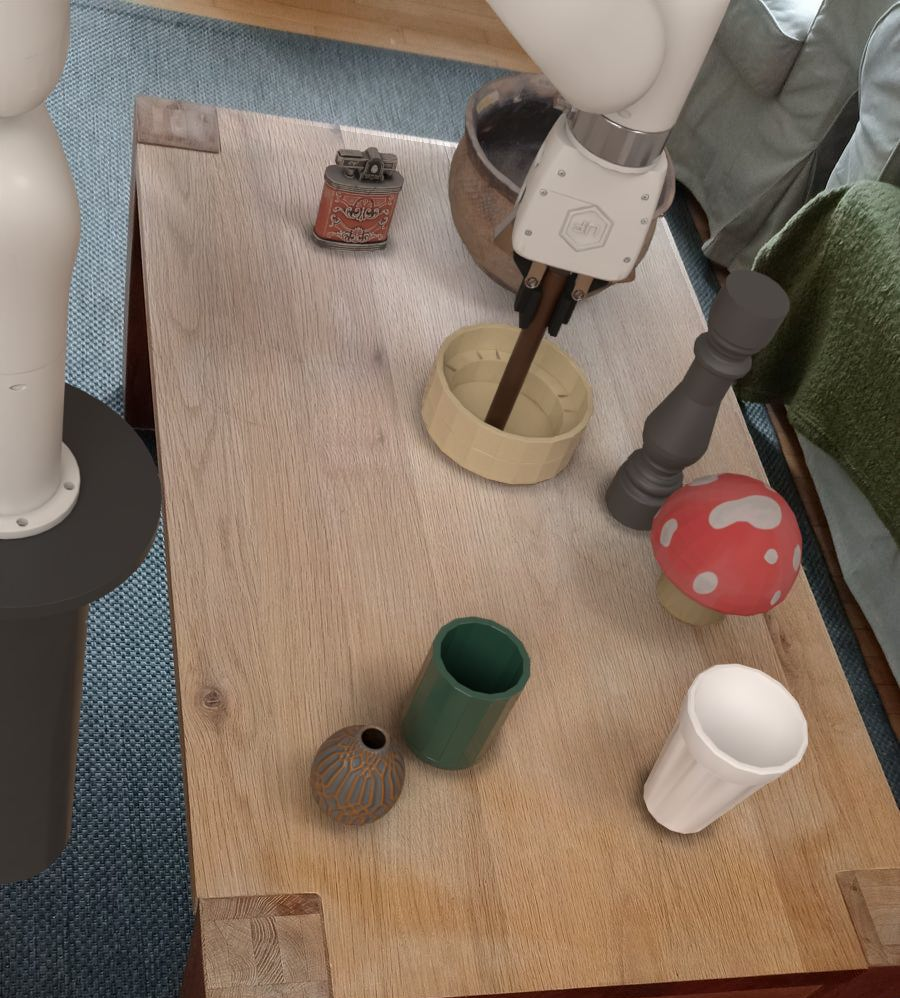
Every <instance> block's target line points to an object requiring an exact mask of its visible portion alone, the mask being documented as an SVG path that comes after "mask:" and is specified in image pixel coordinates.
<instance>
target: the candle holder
mask: <svg viewBox="0 0 900 998" xmlns="http://www.w3.org/2000/svg"><path fill="white" fill-rule="evenodd" d="M790 307H791V300H790V298H789V296H788V294H787V292H786V291H785V290H784V289H783V287H782V286H781V285H780V284H779V283H778V282H776V281H775V280H773V279H772V278H771V277H769V276H768V275H765V274H763V273H761V272H758V271H756V270H751V269H743V268H741V269H737V270H733V271H731V272H730V273H729V274H728V275H727V276H726V278H725V279H724V281H723V283H722V285H721V287H720V289H719V290H718V293H717V294H716V296H715V298H714V299H713V302H712V303H711V305H710V307H709V311H708V318H707V323H706V325H707V331H704V332H701V333H700V334H699V335H698V336H697V337H696V338H695V339H694V345H693V351H692V352H693V354H694V359H693V360H692V362H691V363H690V365H689V367H688V369H687V371H686V373H685V374H684V376H683V378H682V380H681V381H680V382H679V383H678V384H677V385H676V386H675V387H674V388H673V389H672V391H671V392H670V393H669V394H668V395H667V396H665V398H663V400H662V401H661V402H660V403H659V404H658V405H657V406H656V407H655V408H654V409H653V410H652V411H651V412H650V413H649V414H648V416H647V417H646V418H645V421H644V423H643V429H642V435H641V437H642V447H640V448H637V449H634V450H633V451H632V452H631V454H630V455H628V457H627V458H626V460H625V461H624V462H623V463H622V464H621V465H620V466H619V467H618V469H617V471H616V472H615V475H614V477H613V478H612V480H611V482H610V484H609V486H608V487H607V489H606V491H605V497H604V502H605V504H606V508H607V510H608V511H609V513H610V514H611V515H612V517H613V518H614V519H615V520H616V521H617V522H619V523H620V524H622V525H623V526H624V527H626V528H629V529H633V530H634V531H640V532H641V531H643V532H651V529H652V522H653V518H654V517H655V515H656V514H657V512H658V511H659V509H660V508H661V506H662V505H663V504H664V502H665V501H666V500H667V498H668V497H669V496H670V495H671V494H673V493H674V492H675V491H676V490H678V489H680V488H681V487H683V486H684V485H683V483H684V478H685V477H684V473H683V471H684V470H685V469H686V468H689V467H691V466H693V465H695V464H696V463H697V462H699V461H700V459H701V458H702V457H703V456H704V455H705V454H706V452H707V450H708V449H709V447H710V442H711V439H712V435H713V432H714V428H715V424H716V421H717V417H718V415H719V411H720V409H721V404H722V401H724V398H725V396H726V395H727V393H728V391H729V390H730V388H731V386H732V385H733V383H734V381H735V380H739V379H742V378H744V377H745V376H746V375H747V374H748V373H749V371H750V370H751V369H752V363H753V359H752V356H753V355H755V354H758V353H759V352H760V351H761V350H762V349H763V348H766V347H767V346H768V344H769V343H770V342H772V340H773V338H774V336H775V335H776V333H777V331H778V330H779V328H780V326H781V325H782V323H783V322H784V320H785V318H786V317H787V315H788V314H789V312H790Z"/></svg>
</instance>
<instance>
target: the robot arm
mask: <svg viewBox="0 0 900 998" xmlns="http://www.w3.org/2000/svg"><path fill="white" fill-rule="evenodd" d="M485 2H486V3H487V4H488V5H489V7H490V9H492V11H493V12H494V13H495V15H496V16H497V17H498V19H499V20H500V21H501V23H502V24H503V25H504V27H505V28H506V29H507V31H508V32H509V33H510V34H511V36H512V37H513V38H514V39H515V40H516V42H517V43H518V44H519V46H520V47H521V48H522V50H523V51H524V52H525V53H526V54H527V55H528V57H529V58H530V59H531V60H532V62H533V63H534V64H535V65H536V67H537V68H538V69H539V70H540V72H541V73H543V74H544V75H545V76H546V77H547V78H548V80H549V81H550V82H551V83H552V84H553V86H554V87H555V88H556V89H557V91H556V94H555V97H554V102H553V108H556V109H559V110H562V113H563V114H562V115H561V116H560V117H559V118H558V120H557V121H556V123H555V124H554V126H553V127H552V129H551V130H550V132H549V134H548V135H547V137H546V139H545V141H544V142H543V144H542V146H541V148H540V150H539V152H538V153H537V155H536V157H535V159H534V161H533V163H532V166H531V168H530V170H529V172H528V174H527V176H526V178H525V181H524V183H523V185H522V187H521V190H520V192H519V195H518V197H517V200H516V203H515V206H514V209H513V210H512V211H511V212H510V213H509V214H508V215H507V216H506V217H505V219H504V220H503V221H502V222H501V223H500V224H499V225H498V226H497V227H496V228H495V229H494V231H493V243H494V245H495V246H496V247H497V248H499V249H500V250H501V251H503V252H504V253H505V254H507V255H508V256H509V255H510V256H511V257H512V258H513V259H514V262H515V263H516V265H517V267H518V269H519V270H520V272H521V274H522V276H523V277H524V278H523V280H522V283H521V285H520V288H519V290H518V293H517V294H516V295H515V298H514V302H513V311H514V312H515V313H518V327H519V328H521V329H526V328H528V327H529V324H530V322H531V319H532V317H533V315H534V312H535V310H536V307H537V305H538V302H539V300H540V298H541V295H542V285H541V283H542V276H543V274H544V271H545V269H546V267H547V265H548V266H552V267H555V268H559V269H563V270H566V271H570V272H571V275H569V278H568V280H567V282H566V285H565V287H564V290H563V292H562V294H561V297H560V299H559V301H558V304H557V306H556V308H555V311H554V313H553V315H552V318H551V320H550V322H549V325H548V327H547V334H548V335H549V337H552V338H557V337H558V334H559V332H560V330H561V328H562V326H563V325H566V326H568V324H569V322H570V320H571V318H572V316H573V313H574V311H575V309H576V306H577V305H578V303H579V302H580V301H583V300H585V299H586V298H585V297H586V295H587V293H590V292H592V291H594V290H596V289H599V288H601V287H603V286H606V285H607V284H608V283H612V284H614V285H616V284H626V283H632V282H634V281H635V280H636V276H637V275H636V274H637V273H636V270H637V267H636V261H637V258H638V256H639V254H640V251H641V249H642V246H643V243H644V241H645V238H646V235H647V232H648V230H649V227H650V224H651V221H652V219H653V216H654V213H655V210H656V207H657V204H658V201H659V198H660V195H661V191H662V188H663V184H664V180H665V176H666V172H667V167H668V162H667V159H666V154H665V151H664V147H665V146H666V145H667V143H668V140H669V139H670V136H671V135H672V132H673V129H674V127H675V126H676V124H677V121H678V119H679V117H680V114H681V112H682V110H683V108H684V106H685V104H686V101H687V99H688V96H689V94H690V92H691V90H692V88H693V85H694V84H695V81H696V79H697V77H698V75H699V73H700V70H701V68H702V66H703V63H704V61H705V60H706V57H707V54H708V53H709V50H710V48H711V46H712V44H713V41H714V39H715V37H716V35H717V33H718V30H719V28H720V26H721V24H722V21H723V19H724V17H725V15H726V13H727V11H728V8H729V6H730V4H731V3H730V2H731V0H485ZM71 15H72V14H71V0H0V539H16V538H24V537H29V536H33V535H37V534H40V533H42V532H44V531H47V530H49V529H51V528H53V527H54V526H56V525H57V524H59V523H60V522H62V521H63V520H64V519H65V518H66V517H67V516H68V515H69V514H70V512H71V511H72V509H73V508H74V506H75V504H76V502H77V499H78V496H79V491H80V471H79V467H78V464H77V462H76V459H75V457H74V456H73V454H72V452H71V451H70V449H69V448H68V447H67V446H66V445H65V444H64V443H63V442H62V432H63V410H64V388H65V382H66V368H67V367H66V364H67V363H66V362H67V345H68V344H67V343H68V317H69V302H70V293H71V283H72V277H73V272H74V268H75V265H76V261H77V257H78V253H79V248H80V243H81V233H82V218H81V217H82V215H81V207H80V202H79V198H78V191H77V187H76V183H75V180H74V176H73V174H72V170H71V167H70V165H69V164H70V163H69V161H68V159H67V155H66V153H65V150H64V147H63V144H62V141H61V138H60V136H59V133H58V131H57V128H56V126H55V124H54V122H53V120H52V117H51V115H50V113H49V110H48V107H47V104H46V102H45V101H46V100H47V99H48V97H49V96H51V94H52V93H53V91H54V89H55V88H56V86H57V85H58V83H59V81H60V79H61V77H62V74H63V73H64V69H65V67H66V63H67V59H68V54H69V49H70V45H71V44H70V43H71V28H72V27H71V26H72V16H71ZM644 220H645V221H644ZM527 231H528V232H527Z"/></svg>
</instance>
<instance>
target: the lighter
mask: <svg viewBox="0 0 900 998" xmlns="http://www.w3.org/2000/svg"><path fill="white" fill-rule="evenodd" d="M398 162H399V158H398V156H397V154H395V153H389V152H379V150H378V147H375V146H369V147H367V148H366V149H365V150H364V151H362V150H360V149H348V148H340V149H338V150H337V151H336V155H335V158H334V163H335V164H329V165H327V166H326V167H325V170H324V173H323V174H324V175H323V180H324V183H323V187H322V190H321V191H322V192H321V197H320V202H319V204H318V205H319V206H318V209H317V210H318V211H317V213H316V218H315V223H314V224H313V226H312V230H311V233H310V240H311V242H312V243H313V244H314V245H315V246H317V247H318V248H321V249H326V250H332V251H337V252H349V253H371V252H379V251H383V250H385V249H386V248H387V244H388V242H389V241H388V240H389V235H388V234H389V231H390V227H391V223H392V220H393V217H394V212H395V209H396V206H397V202H398V198H399V195H400V192H401V191H402V190H403V187H404V184H405V177H404V176H403V174H402V173H400V171H398V170H397V166H398Z"/></svg>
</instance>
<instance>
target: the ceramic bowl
mask: <svg viewBox="0 0 900 998" xmlns="http://www.w3.org/2000/svg"><path fill="white" fill-rule="evenodd" d="M556 91H557V89H556V88H555V87H554V86H553V84H552V83H551V82H550V81H549V80H548V78H547V77H546V76H545V75H544V74H543V72H523V73H515V74H511V75H507V76H504V77H501V76H500V77H497V78H495V79H493V80H491V81H490V82H486V83H483V85H481V86H480V88H478V89H477V90H476V91H475V92H473V94H472V95H470V97H469V99H468V102H467V105H466V107H465V108H466V109H465V114H464V115H465V116H464V133H463V134H462V136H461V139H459V142H458V144H457V146H456V148H455V151H454V152H453V156H452V159H451V161H450V167H449V173H448V183H447V184H448V186H447V187H448V189H447V190H448V191H447V192H448V194H447V197H448V201H449V206H450V212H451V213H450V214H451V219H452V221H453V225H454V227H455V230H456V232H457V234H458V236H459V237H460V240H461V241H462V243H463V245H464V246H465V248H466V250H467V251H468V253H469V254H470V256H471V257H472V259H473V260H474V262H475V264H476V265H477V266H478V268H480V270H481V271H482V272H483V273H484V274H485V275H486V276H487V277H488V278H490V279H491V280H492V281H494V282H495V283H496V284H498V285H499V286H500V287H502V288H503V289H505V290H508V291H510V292H512V293H514V294H516V295H517V293H518V290H519V288H520V285H521V283H522V280H523V278H524V277H523V276H522V274H521V272H520V270H519V269H518V267H517V265H516V263H515V262H514V259H513V258H512V257H511V256H510V255H509V256H508V255H507V254H505V253H504V252H503V251H501V250H500V249H499V248H497V247H496V246H495V245H494V243H493V231H494V229H495V228H496V227H497V226H498V225H499V224H500V223H501V222H502V221H503V220H504V219H505V217H506V216H507V215H508V214H509V213H510V212H511V211H512V210H513V209H514V206H515V203H516V200H517V197H518V195H519V192H520V190H521V187H522V185H523V183H524V181H525V178H526V176H527V174H528V172H529V170H530V168H531V166H532V163H533V161H534V159H535V157H536V155H537V153H538V152H539V150H540V148H541V146H542V144H543V142H544V141H545V139H546V137H547V135H548V134H549V132H550V130H551V129H552V127H553V126H554V124H555V123H556V121H557V120H558V118H559V117H560V116H561V115H562V114H563V113H562V110H559V109H556V108H553V102H554V97H555V94H556ZM664 151H665V154H666V159H667V162H668V167H667V172H666V176H665V180H664V184H663V188H662V191H661V195H660V198H659V201H658V204H657V207H656V210H655V213H654V216H653V219H652V221H651V224H650V227H649V230H648V232H647V235H646V238H645V241H644V243H643V246H642V249H641V251H640V254H639V256H638V258H637V261H636V268H637V267H638V266H639V265H640V264H641V262H642V261H643V259H644V258H645V257H646V255H647V253H648V251H649V249H650V246H651V243H652V240H653V238H654V235H655V232H656V228H657V224H658V219H659V217H660V216H662V215H663V214H665V213H666V212H667V211H668V210H669V209H670V208H671V206H672V204H673V201H674V199H675V194H676V167H675V165H674V163H673V160H672V157H671V155H670V152H669V149H668V148H667V146H666V145H665V147H664ZM644 221H645V220H644ZM527 232H528V231H527ZM545 270H546V269H545ZM544 272H545V271H544ZM543 275H544V274H543ZM570 275H571V273H570ZM542 277H543V276H542ZM612 286H615V284H612V283H608V284H607V285H606V286H603V287H601V288H599V289H596V290H594V291H592V292H590V293H587V295H586V297H585V298H584V299H587V298H590V297H593V296H595V295H598V294H600V293H601V292H603V291H605V290H607V289H608V288H609V287H612Z"/></svg>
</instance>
